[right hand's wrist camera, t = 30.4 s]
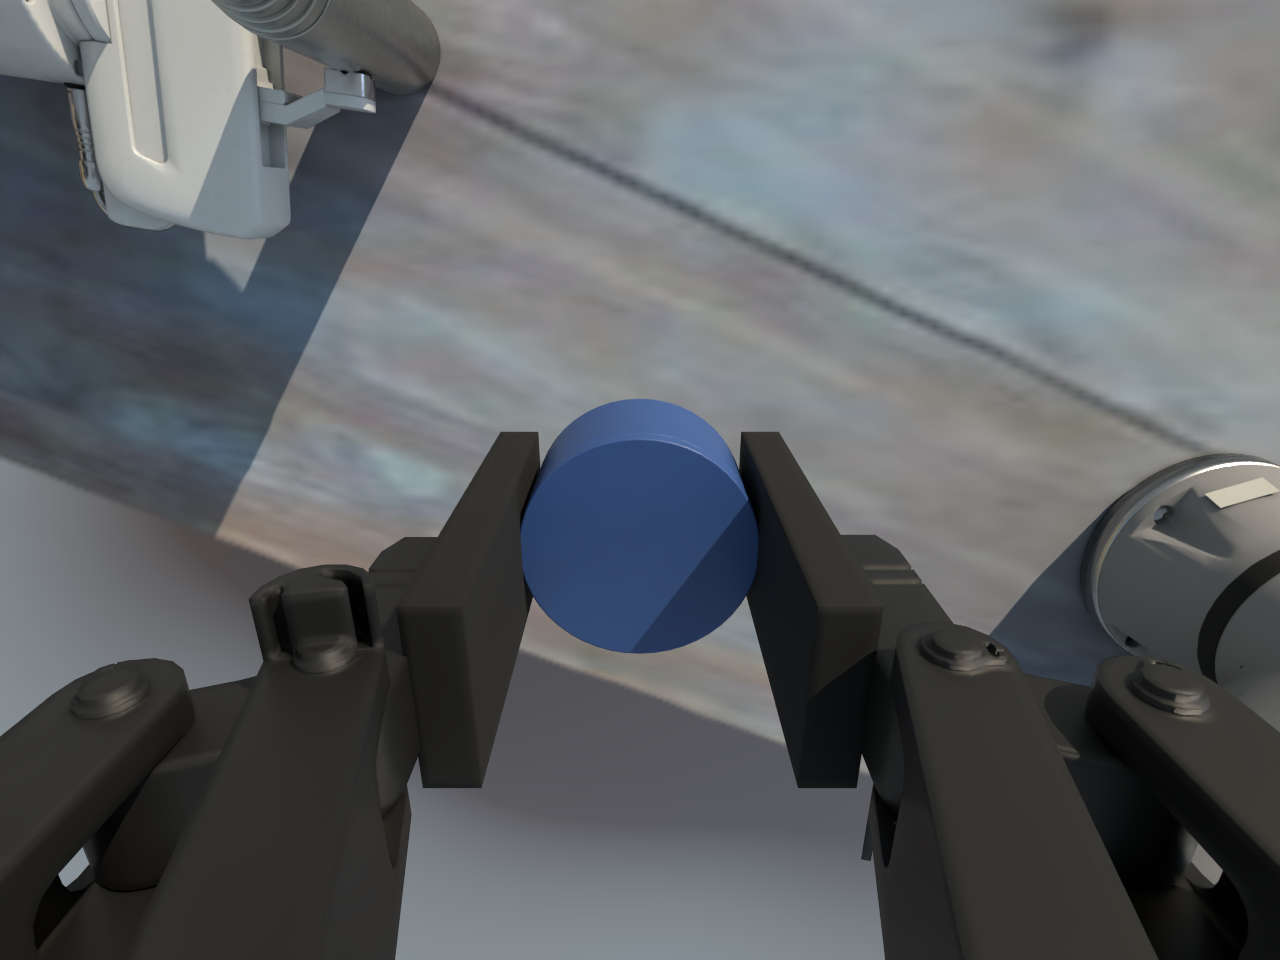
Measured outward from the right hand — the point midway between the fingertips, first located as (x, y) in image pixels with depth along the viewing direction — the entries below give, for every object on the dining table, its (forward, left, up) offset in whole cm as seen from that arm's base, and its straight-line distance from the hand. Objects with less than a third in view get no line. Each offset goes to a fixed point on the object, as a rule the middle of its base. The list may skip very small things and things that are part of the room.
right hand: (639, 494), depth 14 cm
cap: (0, 0, +2) cm, 2 cm away
